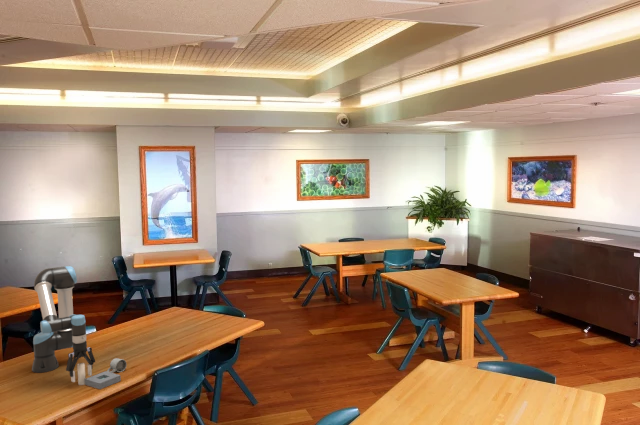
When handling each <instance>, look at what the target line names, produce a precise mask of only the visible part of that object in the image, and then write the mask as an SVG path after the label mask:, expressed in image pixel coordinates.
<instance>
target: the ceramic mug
mask: <svg viewBox="0 0 640 425" xmlns="http://www.w3.org/2000/svg"><path fill="white" fill-rule="evenodd" d="M109 366H110V367H108V368H107V370H106V371H107V372H111V373H114V374H115V373H116V372H118V373H123V372H124V371H125V370H126V368H127V361H126V360H125V359H124V358H118V357H117V358H113V359H112V360H111V361H110V363H109Z"/></svg>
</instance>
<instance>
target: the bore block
mask: <svg viewBox="0 0 640 425" xmlns="http://www.w3.org/2000/svg"><path fill="white" fill-rule="evenodd" d="M121 376H122V375H120V374H118V373H117V374H116V373H115V372H114V373H111V372H110V371H109V372H107V370H105V371H102V372H100V373H97V374H94V375H92V376H89V377H87V378H86V377H85V378H86V379H85V384H84V385H85V386H87V387H92V388H93V389H97V390H102V389H104V388H107V387H110V386H112V385H115V384H117V383H119V382H121V381H122V380H121Z"/></svg>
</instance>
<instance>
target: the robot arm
mask: <svg viewBox="0 0 640 425" xmlns="http://www.w3.org/2000/svg"><path fill="white" fill-rule="evenodd" d="M77 283H78V278H77V274H76V270H75V268H74V267H73V266H70V265H69V266H65V265H64V266H59V267H51V268H50V267H49V268H45V269H42V270H41V271H40V272H39V273H38V274H37V275H36V276H35V279H34V282H33V288H34V291H35V292H36V293H37V296H38V297H37V298H38V302H39V306H40V312H41V317H42V320H41V321H40V323H39V324H40V326H39V327H40V332H39V333H37V334H35V335H34V336H33V341H32V344H33V354H34V355H33V356H34V359H33V362H32V365H31V372H33V373H37V374H38V373H47V372H51V371H53V370H56V369H58V368H59V361H58V358H57V357H56V352H55V351H61V350H64V349H66V350H67V349H71V348H72V350H73V351H72V352H71V353H68V354H67V355H68V357H67V363H66V368H65V371H67V372H69V377H70V380H71V381H70V382H72V383H75V382H76V370H74V369H75V367H76V366H77V364H78V363H77V362H78V360H80V359H81V358H84V360H85V361H86V362H87V363H88V364H87V376H89V377H91V376H93V372H92V370H93V368H94V367H93V365H94V364H95V363H96V359H95V356H94V352H93V348H92V347H90V346H88V345H87V344H88V343H87V342H88V341H87V330H86V329H87V328H86V327H87V326H86V323H87V322H86V317H85V314H74V306H73V305H74V304H73V288H75V284H77ZM52 287H54V290H56V292H57V307H58V309H57V310H58V315H57V311H56V307H55V301H54V298H53V294H52V293H53V292H52ZM87 353H88V354H87Z"/></svg>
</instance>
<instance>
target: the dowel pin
mask: <svg viewBox="0 0 640 425" xmlns="http://www.w3.org/2000/svg"><path fill="white" fill-rule="evenodd" d="M85 364H86V363H85V362H79V363H76V366H77V368H76V369H77V382H78V386H83V385H85V379H86V367H85V366H86V365H85Z"/></svg>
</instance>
